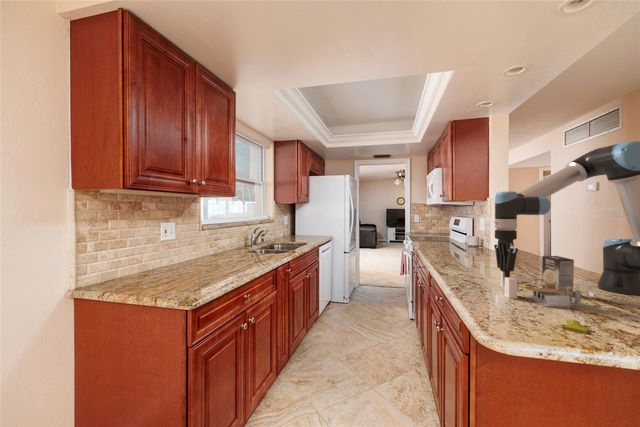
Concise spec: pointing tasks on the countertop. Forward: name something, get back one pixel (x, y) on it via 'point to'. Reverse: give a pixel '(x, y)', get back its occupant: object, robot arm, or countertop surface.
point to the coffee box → (557, 273)
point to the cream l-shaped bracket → (512, 286)
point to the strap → (550, 290)
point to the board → (578, 303)
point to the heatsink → (551, 299)
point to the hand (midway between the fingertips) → (505, 286)
